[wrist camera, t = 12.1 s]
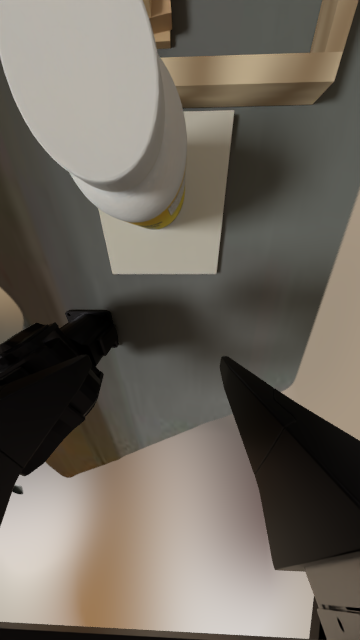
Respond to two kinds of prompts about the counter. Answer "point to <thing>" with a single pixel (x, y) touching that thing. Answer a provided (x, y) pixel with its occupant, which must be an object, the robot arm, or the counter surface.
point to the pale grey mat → (182, 209)
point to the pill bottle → (100, 102)
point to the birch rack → (267, 69)
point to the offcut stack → (160, 21)
